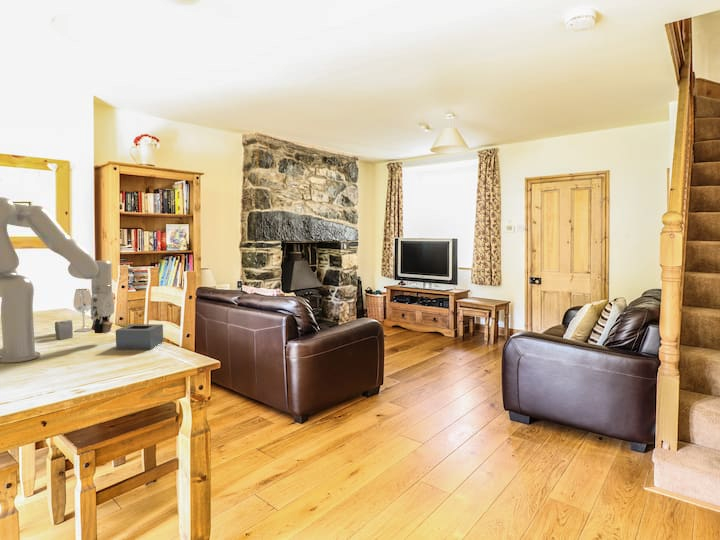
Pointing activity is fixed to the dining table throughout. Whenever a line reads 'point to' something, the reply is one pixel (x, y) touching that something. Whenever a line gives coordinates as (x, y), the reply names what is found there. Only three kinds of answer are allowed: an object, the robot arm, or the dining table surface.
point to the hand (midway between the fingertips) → (101, 331)
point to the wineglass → (82, 305)
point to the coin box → (139, 336)
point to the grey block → (64, 329)
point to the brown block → (105, 326)
